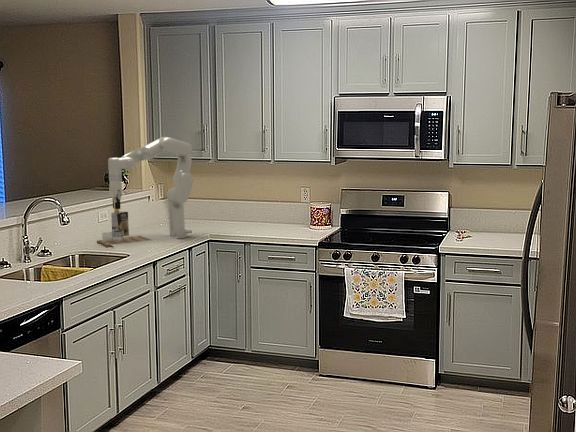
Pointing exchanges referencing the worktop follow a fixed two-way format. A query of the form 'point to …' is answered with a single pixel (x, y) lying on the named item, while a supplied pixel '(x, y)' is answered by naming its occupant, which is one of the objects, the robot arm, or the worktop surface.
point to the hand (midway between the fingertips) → (116, 208)
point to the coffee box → (120, 222)
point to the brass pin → (116, 211)
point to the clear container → (113, 236)
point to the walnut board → (126, 240)
